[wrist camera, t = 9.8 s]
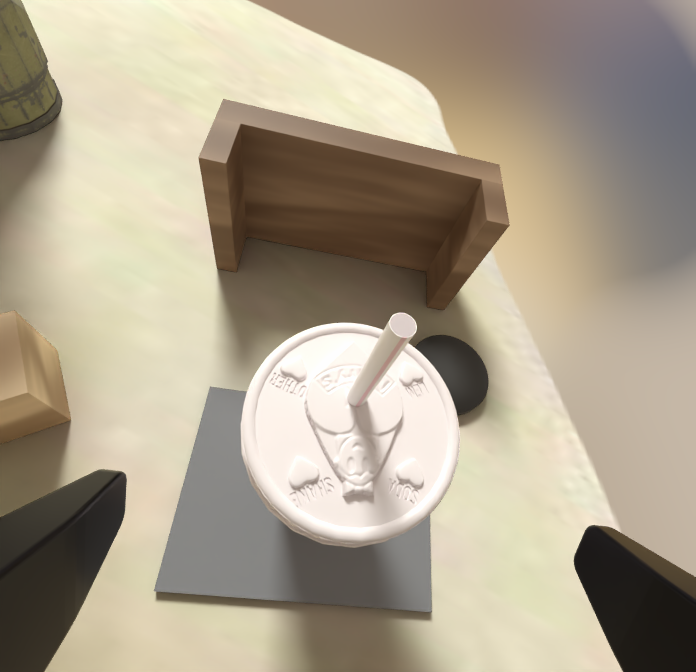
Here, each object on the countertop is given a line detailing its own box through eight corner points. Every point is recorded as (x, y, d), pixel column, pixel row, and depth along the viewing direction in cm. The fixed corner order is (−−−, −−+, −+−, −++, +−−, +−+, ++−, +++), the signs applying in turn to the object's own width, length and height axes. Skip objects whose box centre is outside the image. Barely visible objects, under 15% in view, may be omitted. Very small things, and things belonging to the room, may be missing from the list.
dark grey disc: (492, 413, 23) (498, 410, 22) (414, 417, 22) (418, 414, 21) (471, 339, 25) (476, 334, 25) (399, 339, 24) (402, 335, 24)
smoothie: (374, 412, 21) (520, 238, 9) (382, 543, 18) (616, 543, 6) (255, 408, 20) (243, 203, 8) (243, 548, 17) (195, 560, 5)
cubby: (443, 309, 26) (509, 225, 19) (217, 268, 24) (198, 157, 17) (441, 257, 28) (499, 164, 21) (233, 215, 26) (223, 98, 19)
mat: (429, 611, 18) (431, 612, 17) (155, 590, 16) (153, 591, 16) (425, 419, 22) (427, 417, 22) (210, 388, 20) (210, 386, 20)
